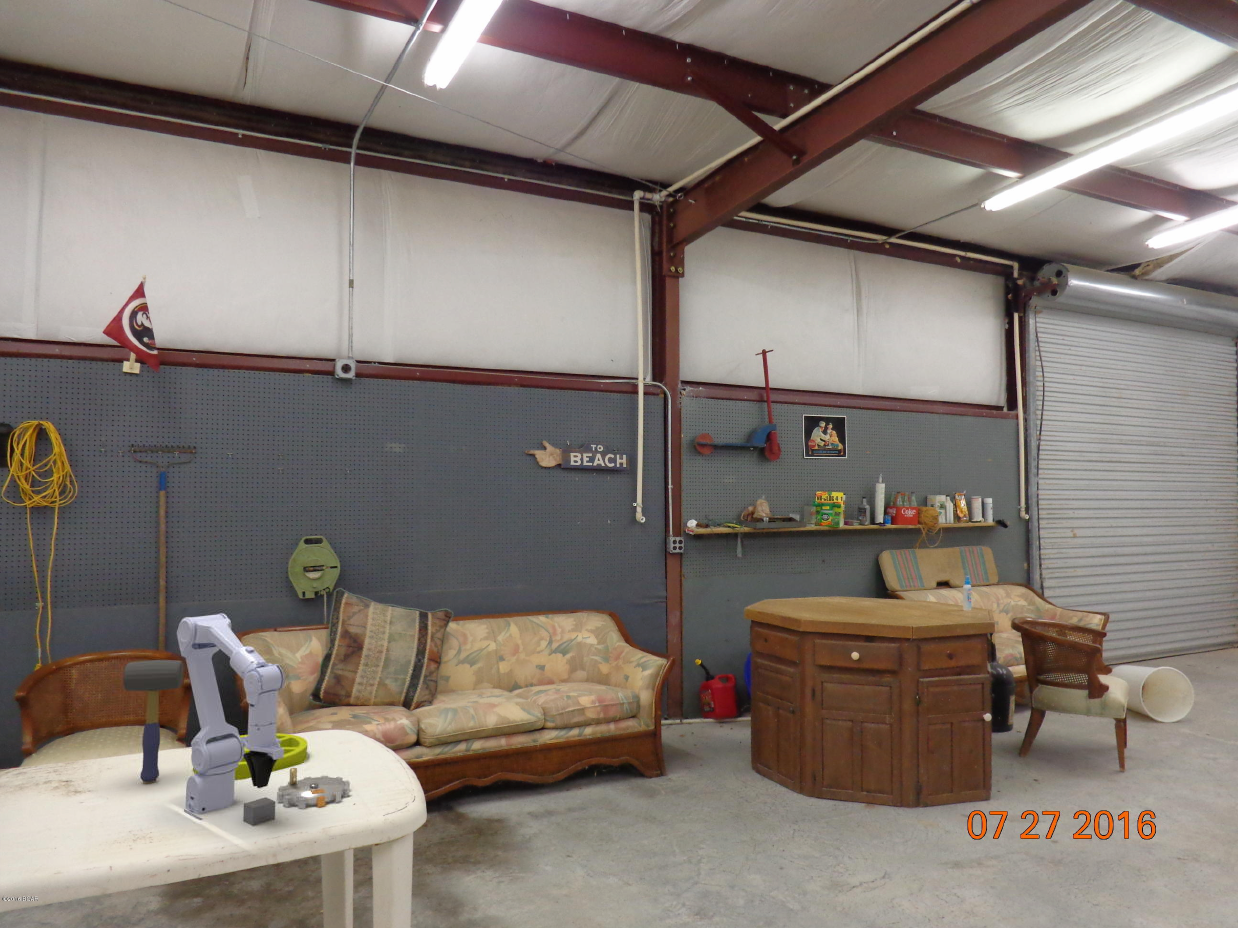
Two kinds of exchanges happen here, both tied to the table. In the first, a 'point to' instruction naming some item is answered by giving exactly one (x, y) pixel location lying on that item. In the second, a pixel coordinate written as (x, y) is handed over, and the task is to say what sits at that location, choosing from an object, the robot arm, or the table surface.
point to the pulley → (292, 757)
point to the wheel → (312, 791)
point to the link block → (259, 811)
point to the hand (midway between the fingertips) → (260, 785)
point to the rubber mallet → (152, 703)
